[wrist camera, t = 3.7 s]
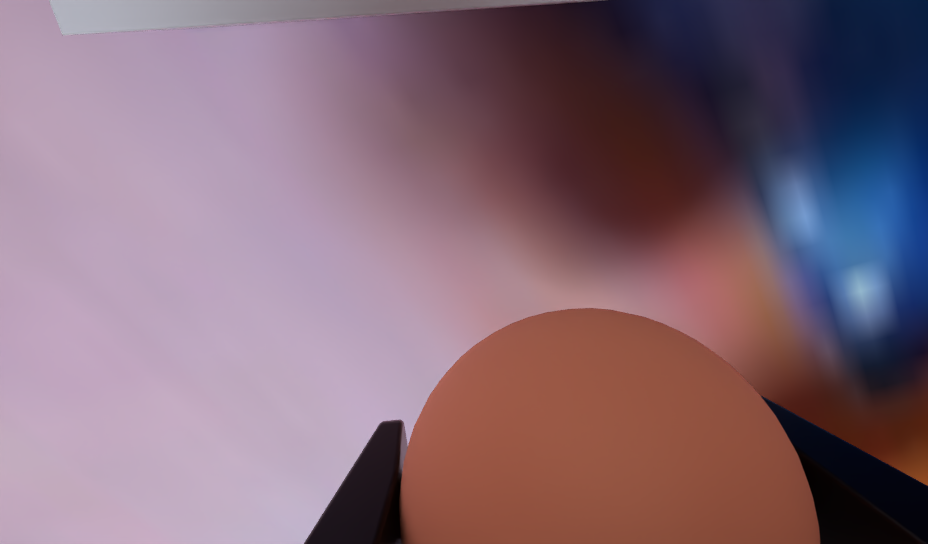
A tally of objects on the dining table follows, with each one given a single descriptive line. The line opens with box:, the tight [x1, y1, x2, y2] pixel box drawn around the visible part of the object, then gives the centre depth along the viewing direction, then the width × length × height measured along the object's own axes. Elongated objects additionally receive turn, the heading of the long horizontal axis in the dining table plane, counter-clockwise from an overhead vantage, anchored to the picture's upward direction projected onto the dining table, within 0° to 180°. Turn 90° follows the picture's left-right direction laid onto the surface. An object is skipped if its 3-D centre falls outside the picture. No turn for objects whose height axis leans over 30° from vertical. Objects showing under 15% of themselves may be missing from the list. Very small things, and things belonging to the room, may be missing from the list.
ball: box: [399, 308, 820, 544], centre depth 8 cm, size 6×6×6 cm
